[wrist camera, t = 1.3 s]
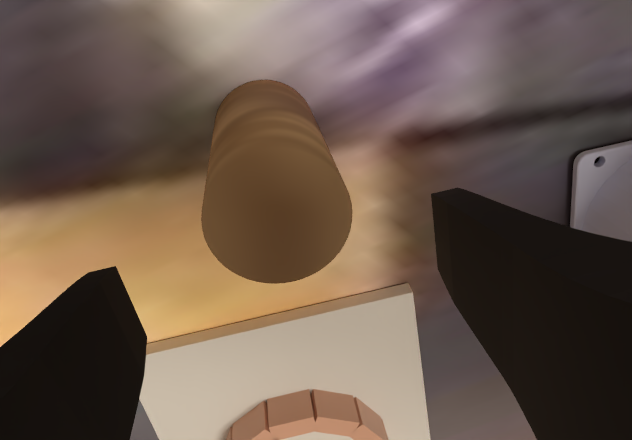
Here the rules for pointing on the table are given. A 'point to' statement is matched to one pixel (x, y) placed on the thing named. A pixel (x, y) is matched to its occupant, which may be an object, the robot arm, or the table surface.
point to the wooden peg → (272, 187)
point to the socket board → (292, 367)
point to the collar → (309, 418)
